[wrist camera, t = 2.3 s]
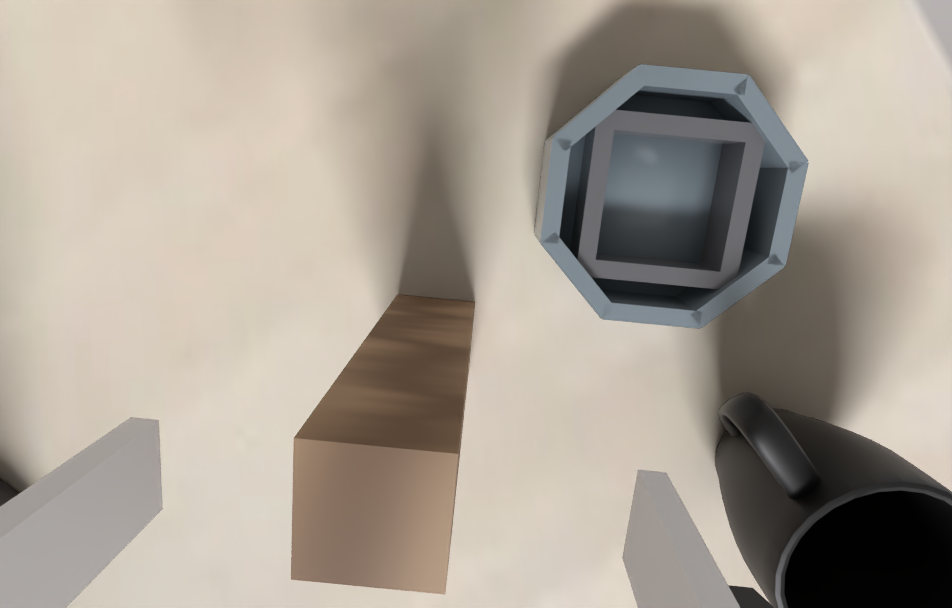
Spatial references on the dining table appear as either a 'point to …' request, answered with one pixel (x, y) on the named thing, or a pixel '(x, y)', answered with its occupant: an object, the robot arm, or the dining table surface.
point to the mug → (831, 513)
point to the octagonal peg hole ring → (670, 195)
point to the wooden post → (386, 454)
